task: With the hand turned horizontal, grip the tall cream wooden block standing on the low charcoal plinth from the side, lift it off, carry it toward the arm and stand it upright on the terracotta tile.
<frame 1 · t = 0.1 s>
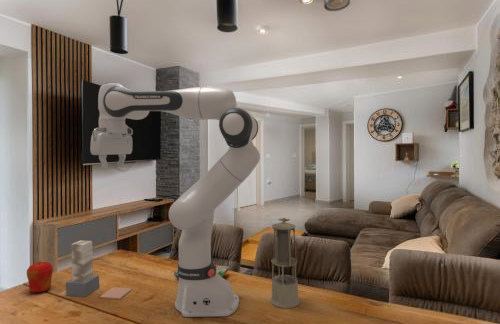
hand: (113, 167, 115), 48 cm above the table, tool pointing down, fingers open, 8 cm apart
lamp: (285, 300, 114), on the table
terracotta tile: (116, 294, 119), on the table
apple: (40, 291, 122), on the table
cream block: (82, 278, 121), point 5 cm above the table, touching charcoal plinth
charcoal plinth: (83, 291, 121), on the table
puzzle game: (202, 278, 134), on the table
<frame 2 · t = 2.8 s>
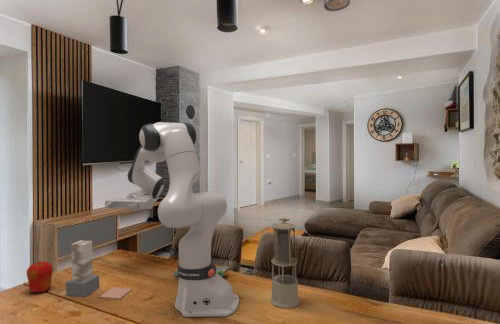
hand: (118, 206, 134), 30 cm above the table, tool horizontal, fingers open, 8 cm apart
nothing on the table moved.
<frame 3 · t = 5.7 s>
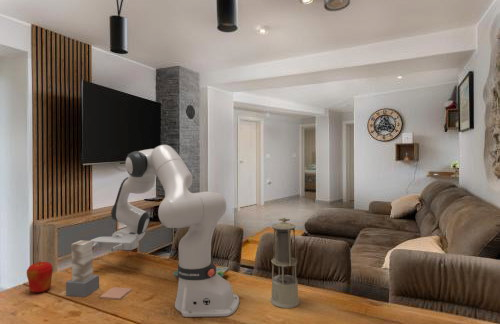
hand: (102, 248, 133), 13 cm above the table, tool horizontal, fingers open, 8 cm apart
nothing on the table moved.
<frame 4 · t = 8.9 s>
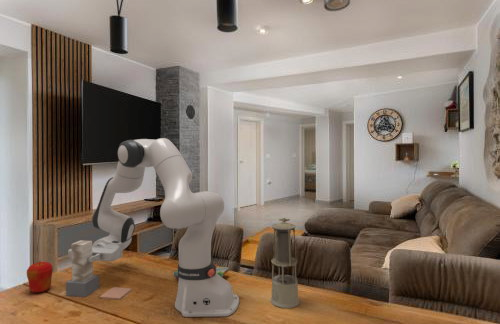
hand: (80, 260, 120), 13 cm above the table, tool horizontal, fingers closed on cream block, 5 cm apart
cream block: (82, 278, 121), point 5 cm above the table, touching charcoal plinth, gripper
everything else where it was.
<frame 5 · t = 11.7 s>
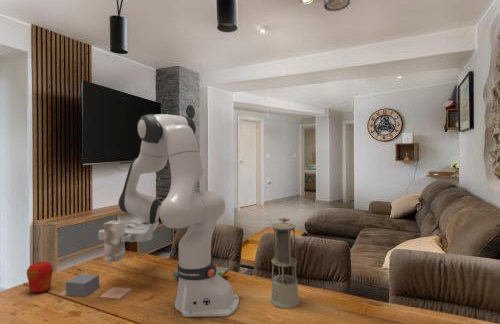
hand: (113, 240, 117), 21 cm above the table, tool horizontal, fingers closed on cream block, 5 cm apart
cream block: (115, 259, 118), point 13 cm above the table, touching gripper
everything else where it was.
when the fingers open (10 cm above the table, at t = 14.9 s): cream block drops 1 cm, resting on terracotta tile.
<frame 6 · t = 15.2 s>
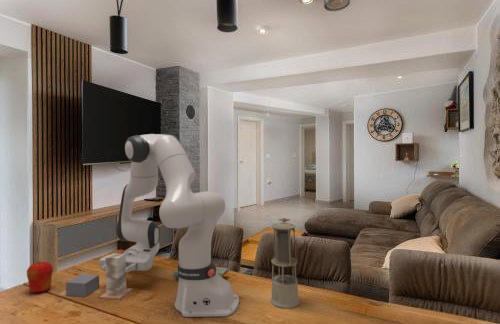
hand: (114, 269, 118), 10 cm above the table, tool horizontal, fingers open, 7 cm apart
cream block: (116, 292, 119), point 1 cm above the table, touching terracotta tile
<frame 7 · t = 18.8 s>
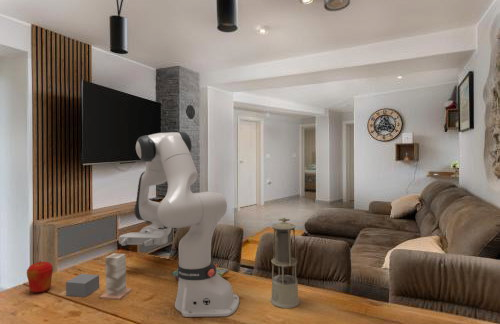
hand: (133, 243, 130), 16 cm above the table, tool horizontal, fingers open, 8 cm apart
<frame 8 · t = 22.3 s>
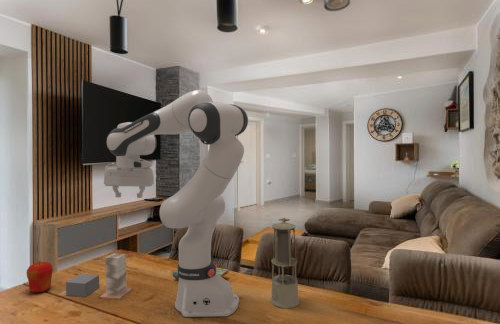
hand: (129, 197, 127), 35 cm above the table, tool pointing down, fingers open, 8 cm apart
at the end: cream block 0.0 cm off-centre on the terracotta tile, point 0.6 cm above the terracotta tile's base; cream block tilted 0°; the gripper is holding nothing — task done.
